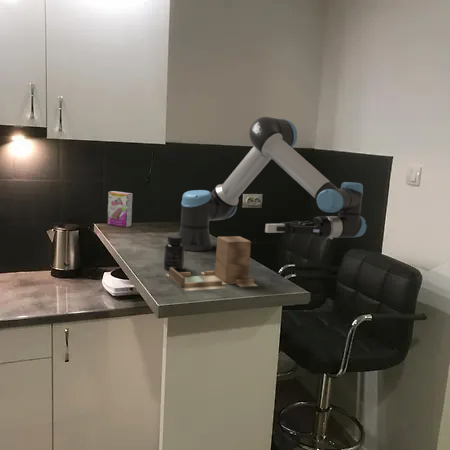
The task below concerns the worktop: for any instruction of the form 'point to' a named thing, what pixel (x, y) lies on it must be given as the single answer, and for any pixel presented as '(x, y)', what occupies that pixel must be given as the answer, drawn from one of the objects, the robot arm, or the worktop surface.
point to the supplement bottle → (174, 253)
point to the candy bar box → (119, 209)
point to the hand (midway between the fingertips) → (266, 228)
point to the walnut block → (232, 258)
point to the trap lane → (203, 280)
